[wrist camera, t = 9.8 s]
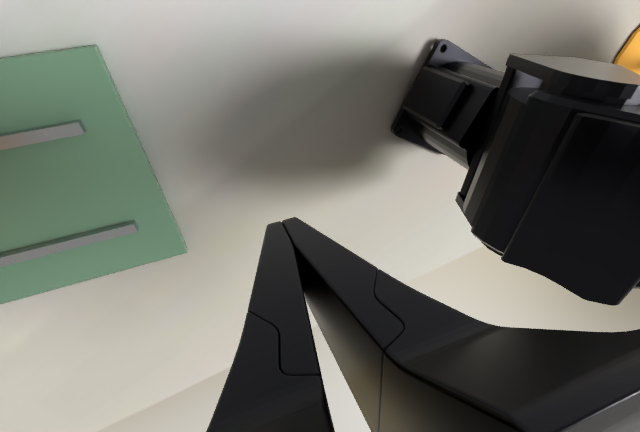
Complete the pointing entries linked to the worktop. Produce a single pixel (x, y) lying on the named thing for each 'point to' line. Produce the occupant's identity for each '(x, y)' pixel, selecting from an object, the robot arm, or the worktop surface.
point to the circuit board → (74, 175)
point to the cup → (630, 53)
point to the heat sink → (67, 242)
